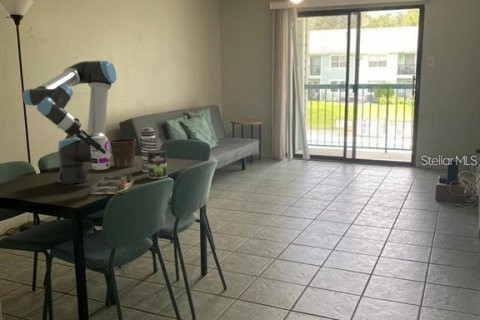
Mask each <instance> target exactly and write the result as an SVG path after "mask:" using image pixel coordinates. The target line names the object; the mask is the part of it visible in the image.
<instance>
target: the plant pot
mask: <svg viewBox="0 0 480 320" xmlns="http://www.w3.org/2000/svg"><path fill="white" fill-rule="evenodd" d="M108 141H109V142H110V144H111V145H110V146H111V154H112V160H113V161H112V162H113V165H114V168H118V169H125V168H131V167H134V166H135V165H136V162H135V159H136V158H135V157H136V155H135V153H136V141H137V139H136V138H129V137H126V138H125V137H124V138H123V137H122V138H115V139H114V138H113V139H110V140H108Z"/></svg>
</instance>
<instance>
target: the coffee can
mask: <svg viewBox="0 0 480 320" xmlns="http://www.w3.org/2000/svg"><path fill="white" fill-rule="evenodd" d="M147 156H148V172H147V173H148V178H149V179H156V180H157V179H158V180H159V179H165V178H167V177H168V168H167V166H168V164H167V161H168V160H167V150H165V149H156V150H151V151H148V152H147Z"/></svg>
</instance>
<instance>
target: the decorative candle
mask: <svg viewBox="0 0 480 320" xmlns="http://www.w3.org/2000/svg"><path fill="white" fill-rule="evenodd" d="M139 140H140V147H141V148H140V150H141V158H142V159H141V163H142V165H141V166H142V172H143V173H148V156H147V152H148V151H151V150H157V147H156V146H157V141H156V140H157V138H156V135H155V129H154V128H153V127H152V126H151V127H148V126H147V127H142V128H141V130H140V139H139Z"/></svg>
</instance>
